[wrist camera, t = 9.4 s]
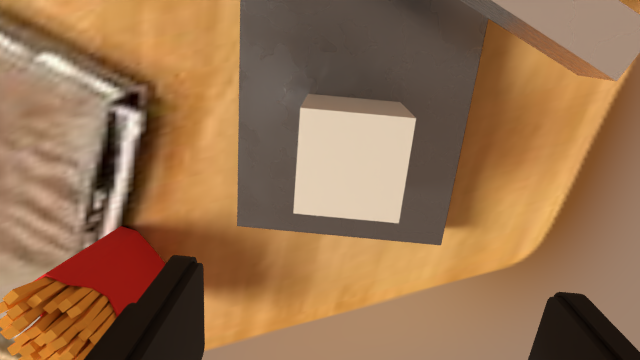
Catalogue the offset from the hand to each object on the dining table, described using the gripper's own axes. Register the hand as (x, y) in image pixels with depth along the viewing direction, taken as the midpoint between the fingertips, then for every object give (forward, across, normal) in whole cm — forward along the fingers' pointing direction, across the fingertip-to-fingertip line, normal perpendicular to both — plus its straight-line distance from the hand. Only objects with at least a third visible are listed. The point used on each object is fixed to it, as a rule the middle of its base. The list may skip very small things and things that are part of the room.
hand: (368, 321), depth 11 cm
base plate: (+22, 0, -4) cm, 23 cm away
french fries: (+22, +18, +13) cm, 32 cm away
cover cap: (+19, 0, 0) cm, 19 cm away
